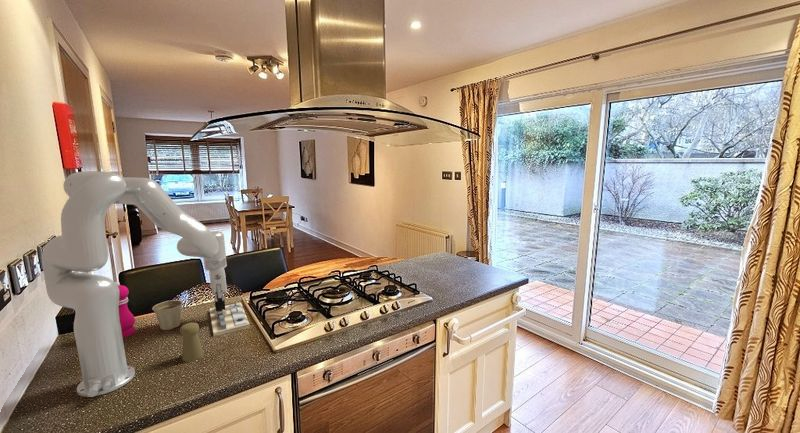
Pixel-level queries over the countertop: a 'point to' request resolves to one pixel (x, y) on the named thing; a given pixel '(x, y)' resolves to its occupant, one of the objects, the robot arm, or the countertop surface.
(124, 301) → the pepper mill
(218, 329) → the gauge board
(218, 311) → the sliding point
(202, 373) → the countertop surface
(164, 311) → the flower pot
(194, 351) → the cork
